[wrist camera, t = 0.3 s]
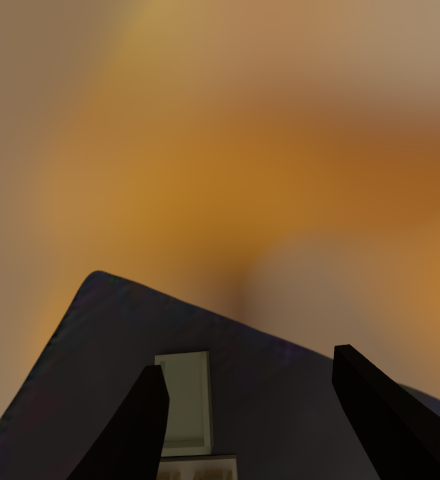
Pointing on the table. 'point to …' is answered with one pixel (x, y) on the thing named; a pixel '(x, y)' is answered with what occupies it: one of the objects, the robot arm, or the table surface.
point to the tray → (188, 403)
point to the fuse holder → (198, 467)
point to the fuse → (212, 477)
